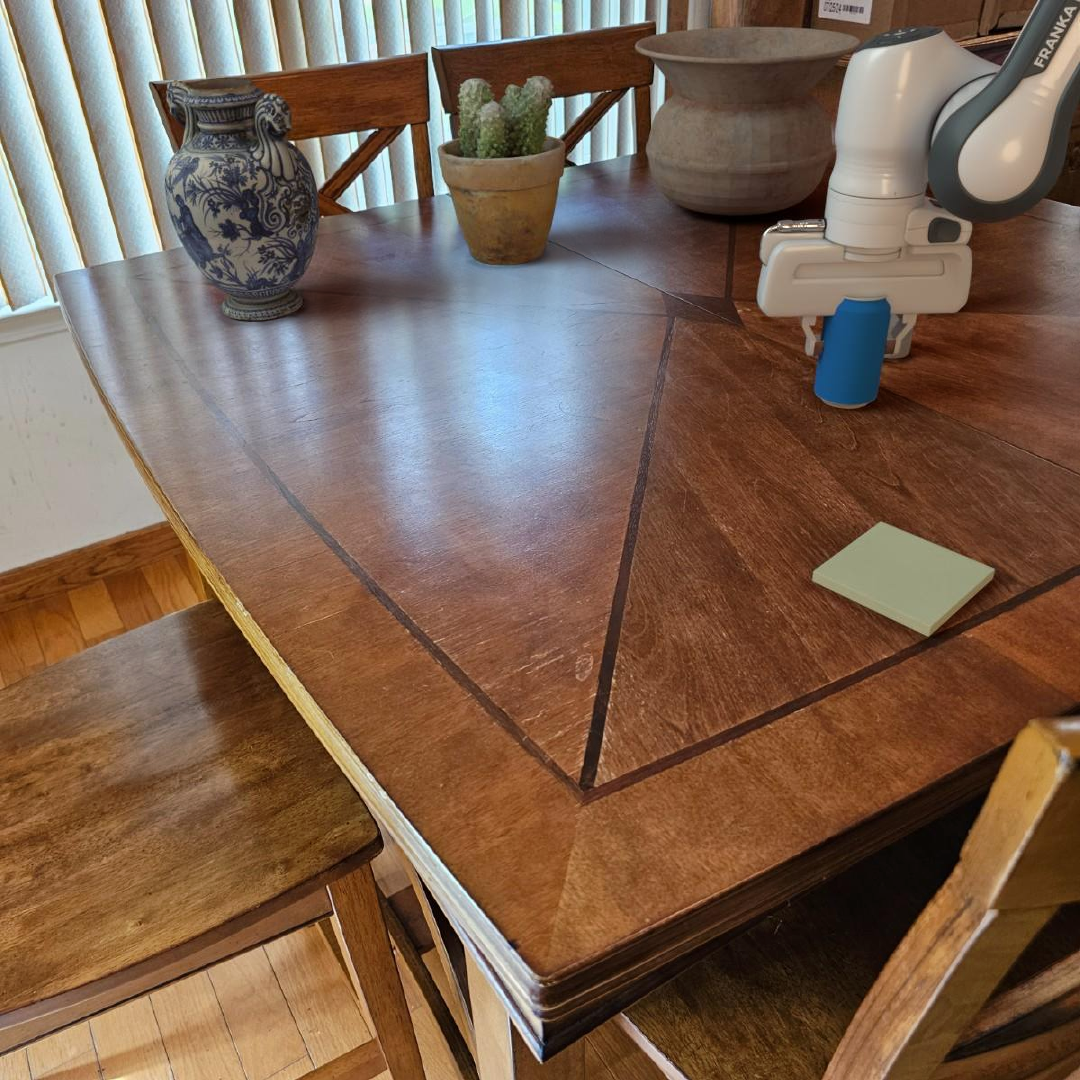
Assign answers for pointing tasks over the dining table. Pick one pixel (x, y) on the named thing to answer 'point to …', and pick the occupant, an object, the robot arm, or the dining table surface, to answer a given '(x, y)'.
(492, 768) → the dining table surface
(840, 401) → the beverage can
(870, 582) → the mat
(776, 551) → the dining table surface
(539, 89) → the potted plant
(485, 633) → the dining table surface
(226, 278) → the decorative vase
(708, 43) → the pot
